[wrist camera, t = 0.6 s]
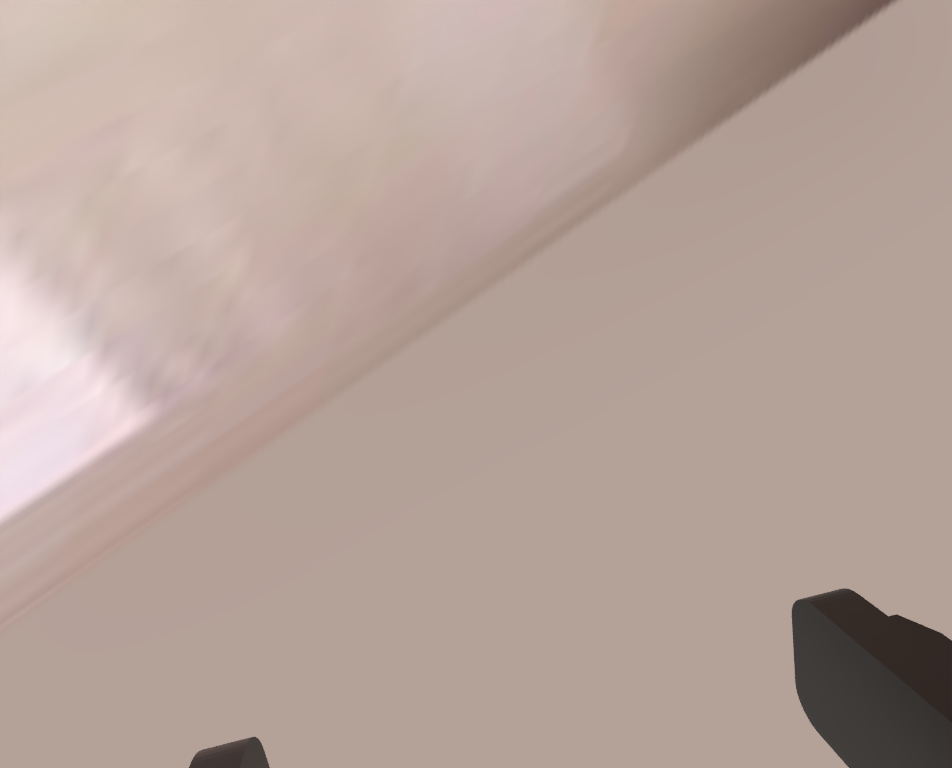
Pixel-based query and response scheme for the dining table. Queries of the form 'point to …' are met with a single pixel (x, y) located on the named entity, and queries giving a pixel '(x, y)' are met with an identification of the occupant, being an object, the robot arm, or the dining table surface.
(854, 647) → the robot arm
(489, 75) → the dining table surface
